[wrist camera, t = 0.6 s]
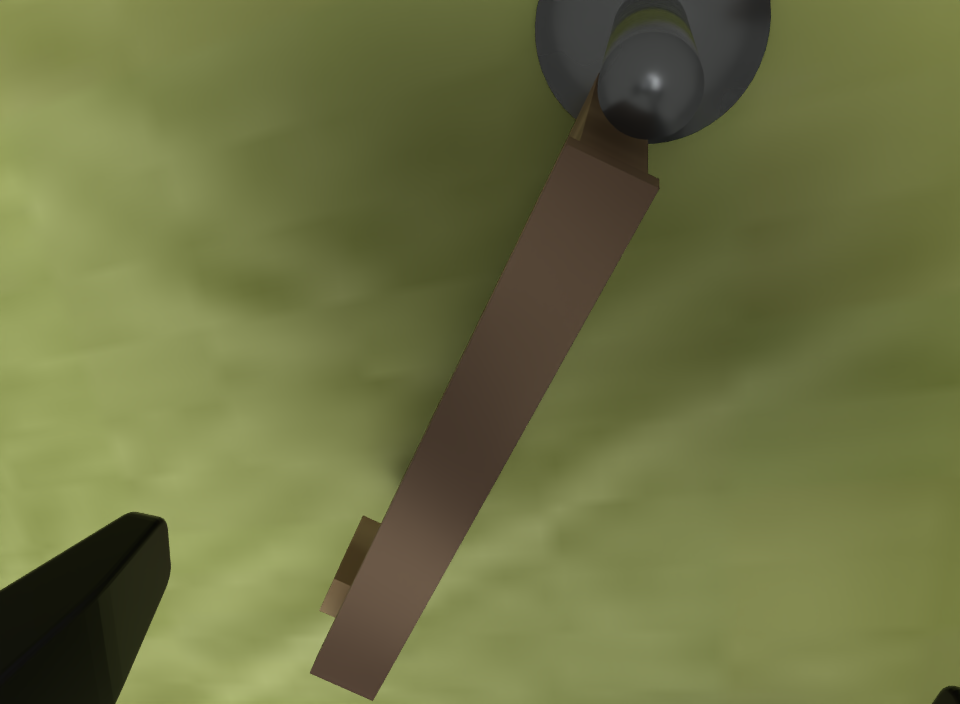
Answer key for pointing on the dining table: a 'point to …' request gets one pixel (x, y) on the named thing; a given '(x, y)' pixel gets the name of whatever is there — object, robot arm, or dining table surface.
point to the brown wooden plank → (488, 397)
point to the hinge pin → (652, 59)
